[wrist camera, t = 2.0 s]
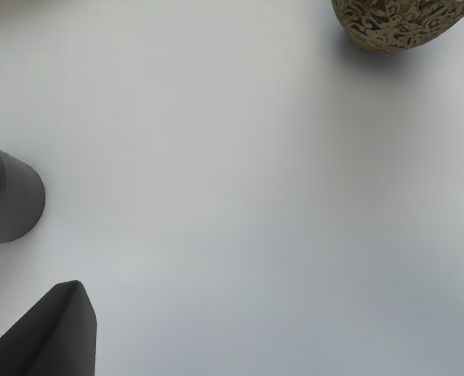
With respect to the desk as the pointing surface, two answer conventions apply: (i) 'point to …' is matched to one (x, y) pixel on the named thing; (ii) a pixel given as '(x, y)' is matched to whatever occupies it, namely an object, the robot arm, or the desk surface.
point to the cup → (396, 22)
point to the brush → (18, 197)
